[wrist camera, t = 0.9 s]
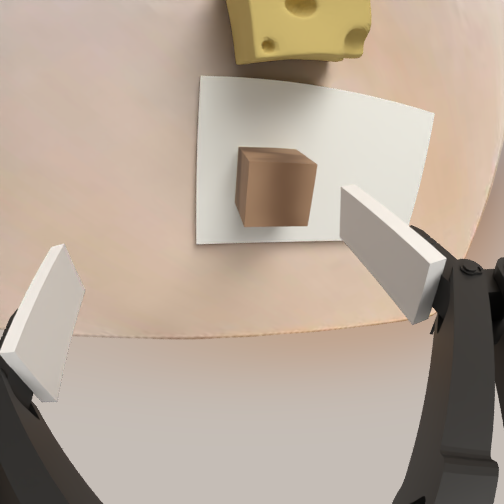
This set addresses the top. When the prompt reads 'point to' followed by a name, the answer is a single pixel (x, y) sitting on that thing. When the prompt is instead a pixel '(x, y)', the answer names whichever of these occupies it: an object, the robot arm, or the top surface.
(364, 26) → the cheese
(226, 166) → the cutting board
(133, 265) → the top surface
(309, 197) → the walnut block
